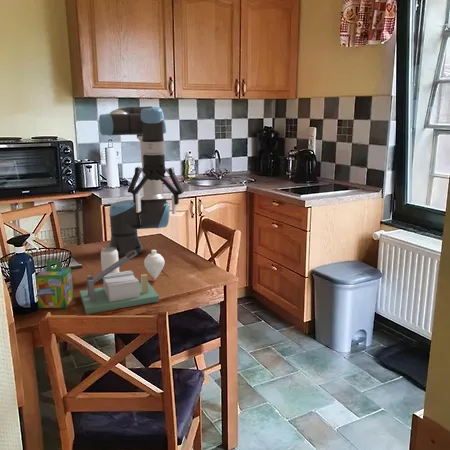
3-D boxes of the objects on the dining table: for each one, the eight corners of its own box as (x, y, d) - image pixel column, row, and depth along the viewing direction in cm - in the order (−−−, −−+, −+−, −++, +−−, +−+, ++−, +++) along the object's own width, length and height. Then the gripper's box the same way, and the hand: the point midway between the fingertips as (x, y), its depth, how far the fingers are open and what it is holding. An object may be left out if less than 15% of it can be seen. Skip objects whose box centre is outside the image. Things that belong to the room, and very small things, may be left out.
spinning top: (166, 282, 176) (165, 252, 173) (146, 285, 174) (144, 254, 171) (163, 275, 183) (162, 246, 180) (143, 278, 181) (142, 248, 178)
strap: (89, 282, 158) (86, 279, 157) (135, 251, 162) (133, 248, 161) (90, 285, 155) (88, 282, 154) (138, 254, 159) (135, 251, 158)
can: (123, 276, 183) (121, 247, 180) (113, 282, 177) (111, 252, 174) (108, 275, 185) (106, 245, 182) (99, 280, 179) (96, 250, 176)
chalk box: (38, 309, 154) (32, 266, 150) (47, 298, 163) (43, 257, 159) (66, 308, 154) (61, 266, 150) (74, 297, 163) (70, 257, 159)
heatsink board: (80, 296, 164) (78, 271, 162) (147, 285, 173) (146, 262, 171) (86, 314, 150) (83, 287, 148) (159, 301, 159) (157, 276, 157)
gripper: (115, 154, 163) (119, 213, 169) (184, 155, 158) (186, 216, 164) (124, 151, 170) (128, 208, 176) (190, 152, 165) (192, 211, 171)
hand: (156, 212), depth 170 cm, fingers open, 13 cm apart
